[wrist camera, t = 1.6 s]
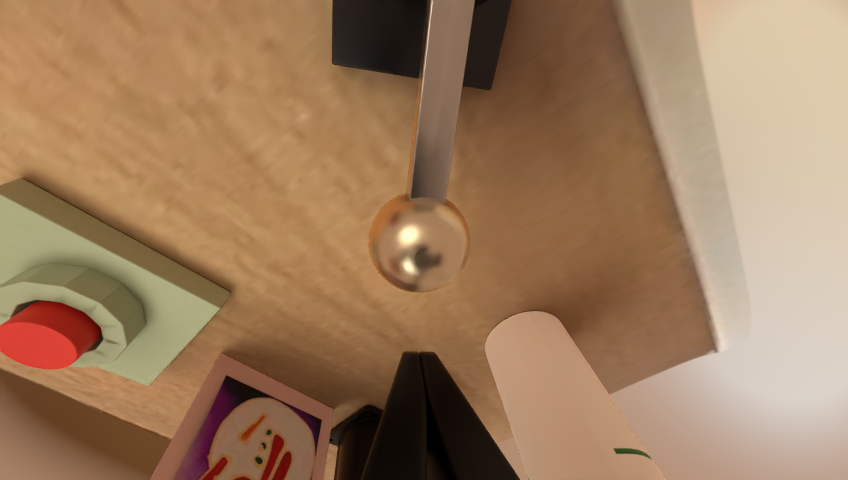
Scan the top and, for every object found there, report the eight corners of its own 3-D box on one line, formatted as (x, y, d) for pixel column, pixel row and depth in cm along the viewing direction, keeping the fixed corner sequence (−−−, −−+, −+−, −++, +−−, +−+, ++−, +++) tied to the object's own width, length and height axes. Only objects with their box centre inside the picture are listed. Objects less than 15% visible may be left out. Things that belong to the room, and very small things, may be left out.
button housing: (162, 367, 25) (131, 410, 22) (-36, 287, 20) (-112, 328, 17) (231, 292, 22) (207, 329, 19) (22, 177, 17) (-56, 202, 14)
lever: (450, 271, 12) (473, 314, 9) (366, 266, 12) (362, 309, 9) (521, -171, 9) (597, -337, 6) (403, -208, 8) (418, -415, 5)
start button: (86, 353, 20) (62, 378, 18) (15, 326, 18) (-19, 350, 17) (112, 320, 19) (88, 343, 17) (39, 289, 17) (6, 311, 16)
